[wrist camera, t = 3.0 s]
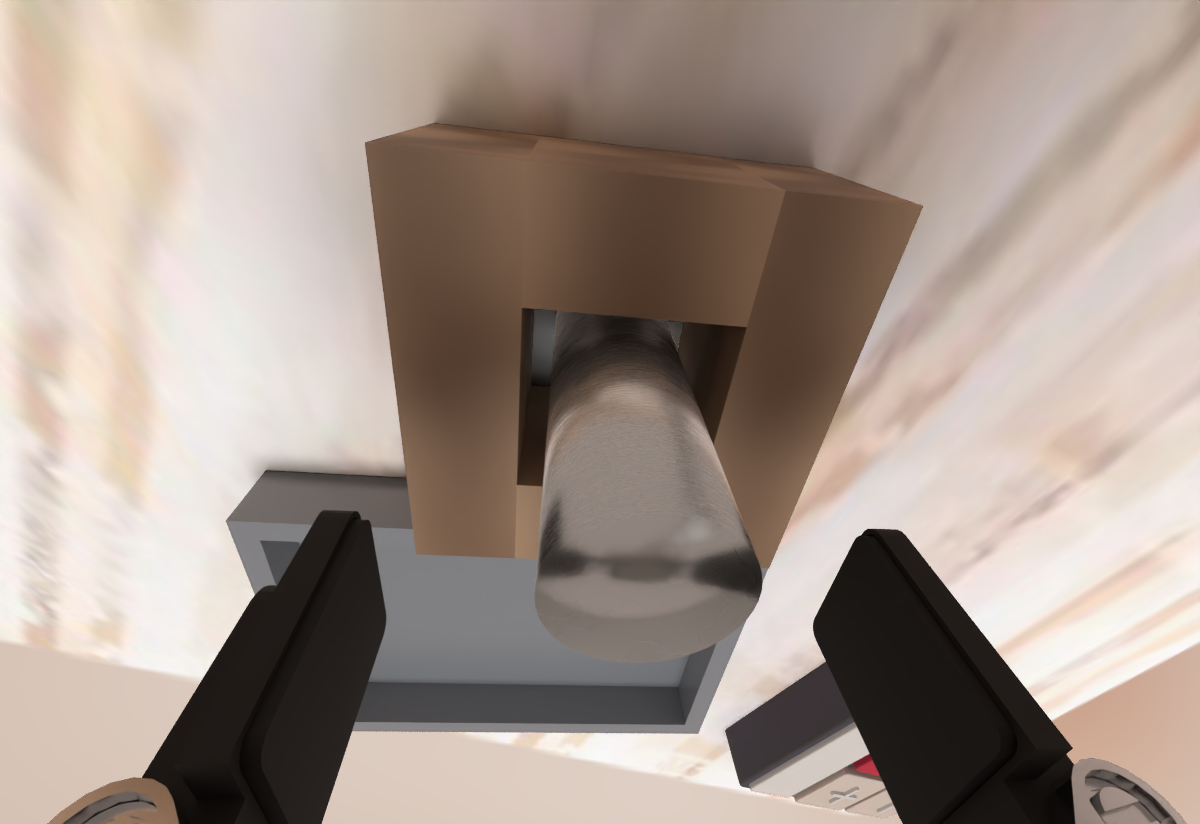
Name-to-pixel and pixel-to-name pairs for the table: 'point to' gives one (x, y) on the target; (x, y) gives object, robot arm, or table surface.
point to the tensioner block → (614, 308)
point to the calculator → (809, 750)
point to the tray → (468, 629)
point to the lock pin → (635, 502)
